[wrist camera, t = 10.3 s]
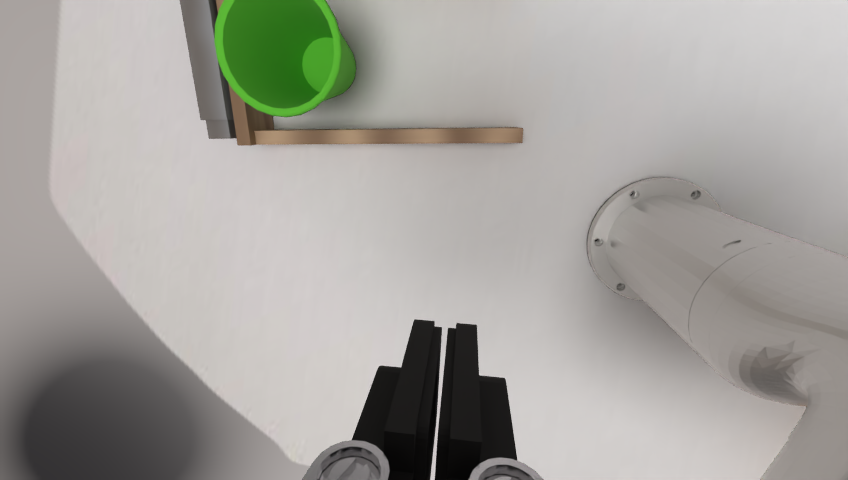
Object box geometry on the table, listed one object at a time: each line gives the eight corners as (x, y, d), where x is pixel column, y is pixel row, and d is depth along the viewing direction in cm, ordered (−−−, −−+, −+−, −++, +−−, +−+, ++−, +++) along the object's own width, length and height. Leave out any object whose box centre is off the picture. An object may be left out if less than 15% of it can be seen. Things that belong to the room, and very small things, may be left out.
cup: (267, 40, 37) (188, 9, 26) (352, -5, 35) (303, -57, 24) (310, 131, 39) (252, 136, 28) (392, 94, 37) (362, 85, 27)
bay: (525, -34, 33) (538, -62, 28) (515, 140, 37) (524, 143, 32) (213, -21, 35) (172, -44, 30) (237, 142, 40) (205, 145, 35)
